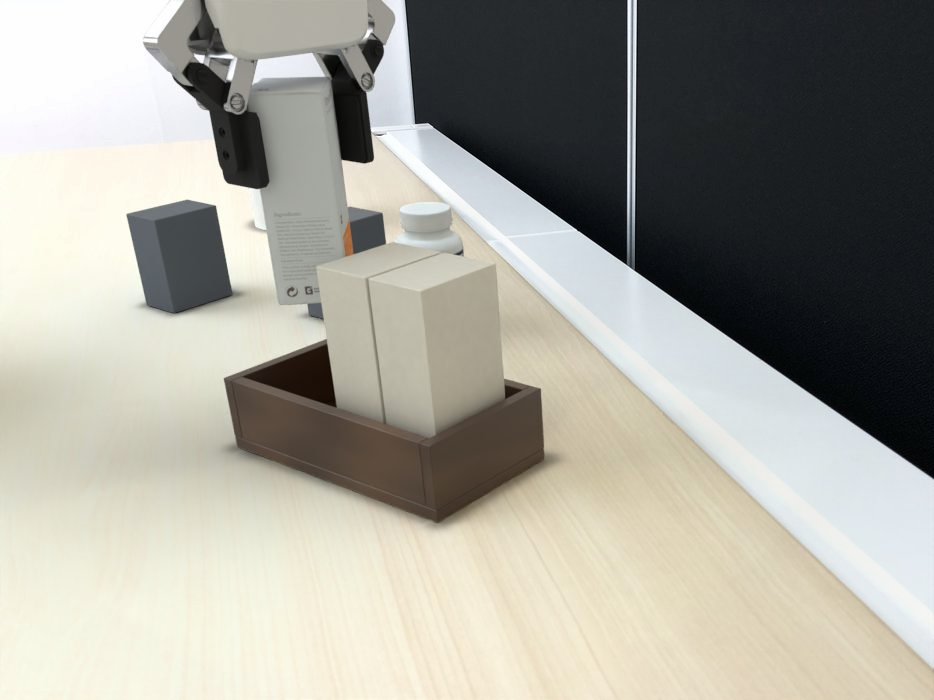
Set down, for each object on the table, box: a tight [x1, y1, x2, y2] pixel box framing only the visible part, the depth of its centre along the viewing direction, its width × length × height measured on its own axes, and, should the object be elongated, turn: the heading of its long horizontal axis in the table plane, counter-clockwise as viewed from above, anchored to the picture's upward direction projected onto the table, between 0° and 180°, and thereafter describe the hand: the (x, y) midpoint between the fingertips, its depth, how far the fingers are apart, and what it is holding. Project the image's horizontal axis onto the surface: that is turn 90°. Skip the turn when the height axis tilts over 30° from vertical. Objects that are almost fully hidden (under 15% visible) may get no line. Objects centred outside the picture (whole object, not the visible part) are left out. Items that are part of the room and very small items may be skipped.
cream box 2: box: [368, 253, 505, 438], centre depth 64 cm, size 4×6×12 cm, turn 146°
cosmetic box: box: [247, 76, 353, 306], centre depth 64 cm, size 6×4×12 cm
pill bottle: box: [394, 201, 465, 257], centre depth 88 cm, size 5×5×10 cm
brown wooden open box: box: [223, 338, 546, 523], centre depth 68 cm, size 18×10×5 cm, turn 56°
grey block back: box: [125, 199, 233, 314], centre depth 95 cm, size 4×6×8 cm, turn 146°
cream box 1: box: [316, 241, 441, 424], centre depth 66 cm, size 4×6×12 cm, turn 146°
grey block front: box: [306, 206, 387, 320], centre depth 92 cm, size 4×6×8 cm, turn 146°
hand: (301, 170), depth 64 cm, fingers closed on cosmetic box, 7 cm apart
